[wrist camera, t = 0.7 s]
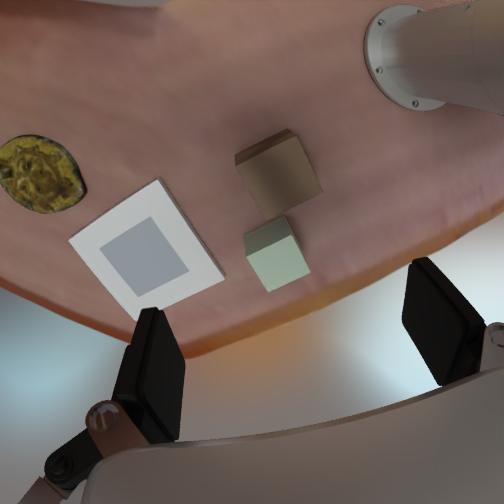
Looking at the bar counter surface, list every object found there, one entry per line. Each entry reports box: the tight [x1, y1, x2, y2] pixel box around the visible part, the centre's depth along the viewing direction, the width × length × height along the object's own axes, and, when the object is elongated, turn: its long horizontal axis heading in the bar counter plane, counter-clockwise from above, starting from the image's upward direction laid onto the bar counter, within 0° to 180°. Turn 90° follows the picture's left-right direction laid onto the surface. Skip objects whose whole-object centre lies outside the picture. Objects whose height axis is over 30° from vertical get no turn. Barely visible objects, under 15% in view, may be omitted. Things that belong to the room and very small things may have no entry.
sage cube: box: [244, 215, 311, 292], centre depth 35 cm, size 5×5×5 cm
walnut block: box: [235, 129, 323, 221], centre depth 31 cm, size 6×6×5 cm
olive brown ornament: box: [0, 135, 86, 214], centre depth 29 cm, size 9×5×15 cm
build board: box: [68, 177, 225, 321], centre depth 36 cm, size 14×14×1 cm
